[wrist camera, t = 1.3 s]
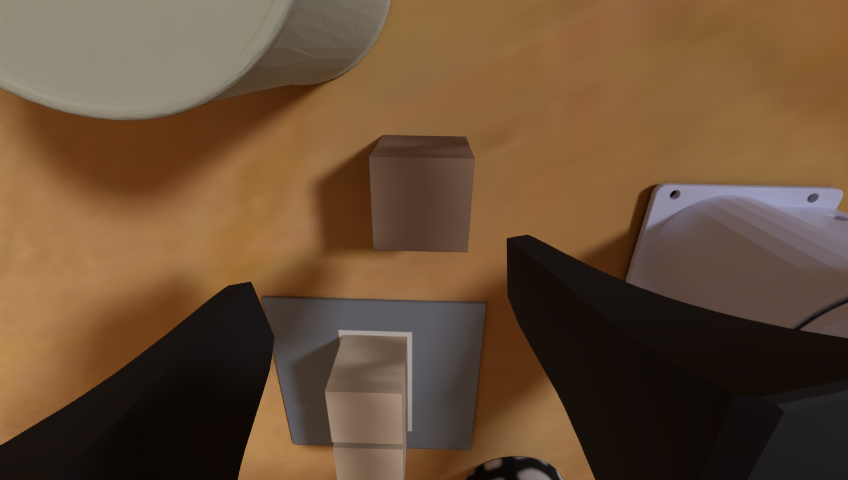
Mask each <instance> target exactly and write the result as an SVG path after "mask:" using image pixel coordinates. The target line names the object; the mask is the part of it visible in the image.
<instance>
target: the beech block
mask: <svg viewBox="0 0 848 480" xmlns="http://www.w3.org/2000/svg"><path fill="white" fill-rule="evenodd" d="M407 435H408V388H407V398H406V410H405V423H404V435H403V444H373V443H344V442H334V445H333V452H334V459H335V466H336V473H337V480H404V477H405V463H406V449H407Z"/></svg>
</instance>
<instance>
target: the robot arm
mask: <svg viewBox="0 0 848 480" xmlns="http://www.w3.org/2000/svg"><path fill="white" fill-rule="evenodd" d="M674 190H676V193H675V195H674V196H672V197H670V194H671V192H673V191H674ZM811 194H812V195H811ZM810 195H811V197H810V198H809V199H808V197H809V196H810ZM842 196H843V192H842V191H841V190H840V189H837V188H833V187H810V186H765V185H720V184H675V183H663V184H659V185H658V186H656V187H655V188H654V189H653V191H652V194H651V197H650V201H649V204H648V207H647V211H646V214H645V217H644V221H643V224H642V227H641V231H640V234H639V237H638V241H637V244H636V247H635V250H634V254H633V257H632V260H631V264H630V267H629V270H628V274H627V277H626V280H625V281H622V280H620V279H618V278H616V277H613V276H611V275H609V274H606V273H604V272H602V271H600V270H597V269H595V268H593V267H591V266H589V265H587V264H585V263H583V262H581V261H579V260H577V259H575V258H573V257H571V256H569V255H567V254H565V253H563V252H561V251H559V250H557V249H555V248H554V247H552V246H550V245H548V244H546V243H544V242H542V241H540V240H538V239H536V238H534V237H532V236H529V235H523V236H517V237H512V238H507V288H508V298H509V301H510V303H511V306H512V309H513V311H514V314H515V316H516V319H517V321H518V323H519V326H520V327H521V329H522V331H523V333H524V335H525V337H526V338H527V340H528V342H529V344H530V346H531V347H532V349H533V351H534V353H535V354H536V356H537V358H538V360H539V362H540V363H541V365H542V367H543V369H544V370H545V372H546V374H547V376H548V377H549V379H550V381H551V383H552V385H553V386H554V388H555V390H556V392H557V394H558V396H559V398H560V400H561V402H562V403H563V405H564V408H565V410H566V412H567V414H568V417H569V419H570V421H571V423H572V426H573V428H574V430H575V433H576V435H577V437H578V439H579V442H580V444H581V447H582V449H583V451H584V454H585V456H586V459H587V461H588V463H589V466H590V468H591V471H592V473H593V475H594V478H595V480H848V214H847V213H844V212H842V211H839V210H836V208H837V207H838V205H839V203H840V201H841V199H842ZM274 339H275V337H274V334H273V332H272V330H271V327H270V325H269V323H268V320H267V318H266V316H265V313H264V311H263V309H262V306H261V304H260V302H259V299H258V297H257V295H256V292H255V290H254V287H253V285H252V283H251V282H246V283H241V284H235V285H229V286H227V287H226V288H224V289H223V290H221V291H220V292H218V293H217V294H216V295H215V296H213V297H212V298H211V299H209V300H208V301H207V302H206V303H204V304H203V305H202V306H201V307H199V308H198V309H197V310H196V311H195V312H193V313H192V314H191V315H190V316H188V317H187V318H186V319H185V320H184V321H182V322H181V323H180V324H179V325H177V326H176V327H175V328H174V329H172V330H171V331H170V332H169V333H168V334H166V335H165V336H164V337H163V338H161V339H160V340H159V341H157V342H156V343H155V344H153V345H152V346H151V347H149V348H148V349H147V350H145V351H144V352H143V353H142V354H140V355H139V356H138V357H136V358H135V359H134V360H132V361H131V362H130V363H128V364H127V365H126V366H125V367H123V368H122V369H120V370H119V371H118V372H116V373H115V374H113V375H112V376H110V377H109V378H108V379H106V380H105V381H103V382H102V383H100V384H99V385H97V386H96V387H94V388H93V389H91V390H90V391H88V392H87V393H85V394H84V395H82V396H81V397H79V398H78V399H76V400H75V401H73V402H72V403H70V404H69V405H67V406H65V407H64V408H62V409H61V410H59V411H57V412H56V413H54V414H52V415H51V416H49V417H47V418H46V419H44V420H42V421H41V422H39V423H37V424H36V425H34V426H32V427H30V428H29V429H27V430H25V431H24V432H22V433H20V434H19V435H17V436H15V437H14V438H12V439H10V440H9V441H7V442H5V443H4V444H2V445H0V480H238V475H239V470H240V466H241V463H242V459H243V455H244V452H245V448H246V445H247V442H248V439H249V435H250V432H251V429H252V426H253V423H254V419H255V416H256V413H257V410H258V407H259V404H260V400H261V397H262V394H263V391H264V387H265V384H266V381H267V377H268V374H269V370H270V365H271V359H272V353H273V346H274Z"/></svg>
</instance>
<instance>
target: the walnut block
mask: <svg viewBox="0 0 848 480" xmlns="http://www.w3.org/2000/svg"><path fill="white" fill-rule="evenodd" d="M369 171H370V190H371V209H372V229H373V248H374V250H389V251H430V252H468V240H469V226H470V213H471V199H472V186H473V172H474V156H473V154H472V151H471V149H470V146H469V143H468V141H467V138H466V137H454V136H402V135H383V136H382V137H381V139H380V140H379V142H378V143H377V145H376V147H375V148H374V150H373V151H372V153H371V154H370V156H369Z"/></svg>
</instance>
